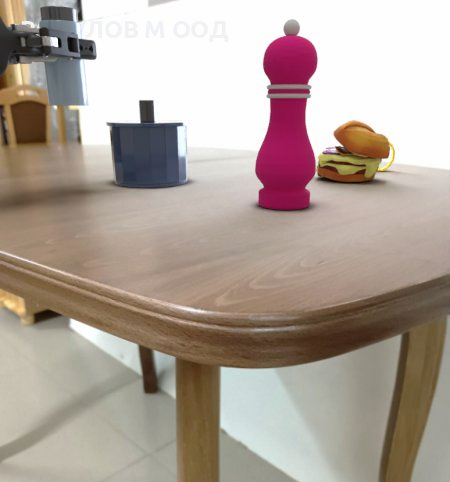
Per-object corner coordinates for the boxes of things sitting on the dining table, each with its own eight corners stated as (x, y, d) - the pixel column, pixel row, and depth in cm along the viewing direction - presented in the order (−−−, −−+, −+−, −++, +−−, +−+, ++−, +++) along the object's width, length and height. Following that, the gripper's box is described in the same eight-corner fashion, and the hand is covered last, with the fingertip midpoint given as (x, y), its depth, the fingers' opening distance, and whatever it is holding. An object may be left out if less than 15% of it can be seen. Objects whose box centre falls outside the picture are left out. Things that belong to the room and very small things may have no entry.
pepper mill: (323, 203, 61) (336, 20, 53) (296, 213, 55) (308, 11, 48) (272, 197, 65) (278, 26, 57) (243, 206, 59) (245, 17, 51)
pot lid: (89, 130, 71) (86, 100, 70) (137, 126, 82) (136, 100, 80) (161, 132, 67) (160, 99, 65) (203, 128, 77) (202, 100, 75)
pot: (99, 184, 75) (94, 125, 71) (141, 175, 84) (138, 123, 81) (163, 189, 70) (160, 127, 67) (200, 179, 80) (199, 124, 77)
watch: (358, 171, 89) (362, 136, 87) (358, 169, 92) (361, 135, 89) (393, 172, 88) (397, 137, 86) (391, 170, 90) (395, 136, 88)
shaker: (40, 105, 63) (27, 7, 59) (67, 105, 67) (57, 13, 63) (70, 105, 61) (59, 4, 57) (96, 105, 65) (88, 10, 61)
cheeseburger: (329, 172, 87) (347, 114, 82) (384, 192, 82) (407, 132, 77) (301, 177, 79) (320, 114, 74) (360, 200, 74) (384, 134, 70)
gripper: (-20, -12, 45) (115, 13, 58) (-93, 4, 53) (41, 23, 66) (-5, 76, 48) (120, 82, 61) (-77, 79, 56) (48, 84, 69)
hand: (79, 51), depth 64 cm, fingers closed on shaker, 5 cm apart
